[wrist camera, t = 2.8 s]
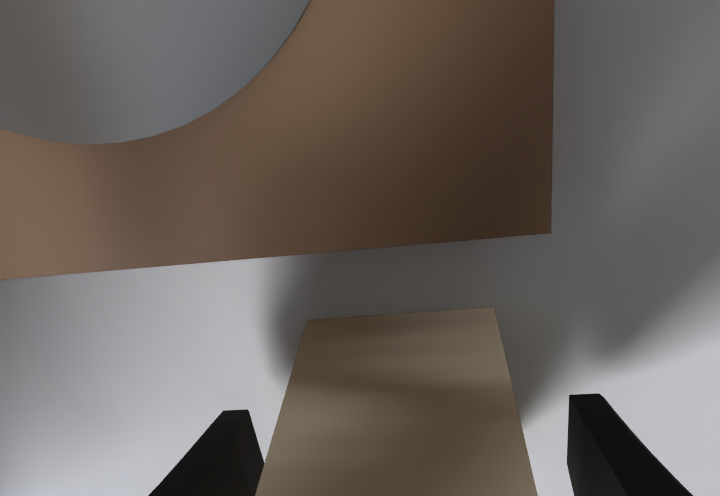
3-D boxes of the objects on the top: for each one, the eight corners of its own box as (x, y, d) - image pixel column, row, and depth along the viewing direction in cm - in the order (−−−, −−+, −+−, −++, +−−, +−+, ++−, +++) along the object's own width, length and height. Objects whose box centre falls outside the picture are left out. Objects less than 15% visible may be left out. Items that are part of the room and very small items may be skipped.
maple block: (336, 451, 15) (295, 710, 10) (307, 319, 14) (237, 552, 8) (499, 445, 15) (546, 717, 10) (494, 306, 13) (549, 549, 8)
